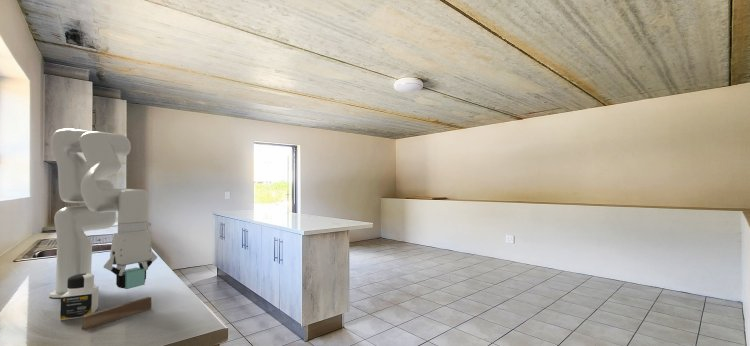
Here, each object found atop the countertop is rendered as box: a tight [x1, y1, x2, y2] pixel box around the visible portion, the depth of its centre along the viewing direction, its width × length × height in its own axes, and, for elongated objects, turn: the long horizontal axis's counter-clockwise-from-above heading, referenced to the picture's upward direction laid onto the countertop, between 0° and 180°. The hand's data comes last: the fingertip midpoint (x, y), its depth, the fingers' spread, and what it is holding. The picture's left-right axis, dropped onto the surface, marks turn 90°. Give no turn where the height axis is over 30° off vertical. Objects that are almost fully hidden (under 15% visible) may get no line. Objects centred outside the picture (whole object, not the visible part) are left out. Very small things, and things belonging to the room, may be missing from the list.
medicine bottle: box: [59, 273, 100, 321], centre depth 99 cm, size 7×7×12 cm
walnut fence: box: [81, 296, 152, 331], centre depth 96 cm, size 2×17×4 cm, turn 153°
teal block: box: [123, 266, 146, 290], centre depth 103 cm, size 5×5×5 cm
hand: (131, 284), depth 103 cm, fingers closed on teal block, 5 cm apart
